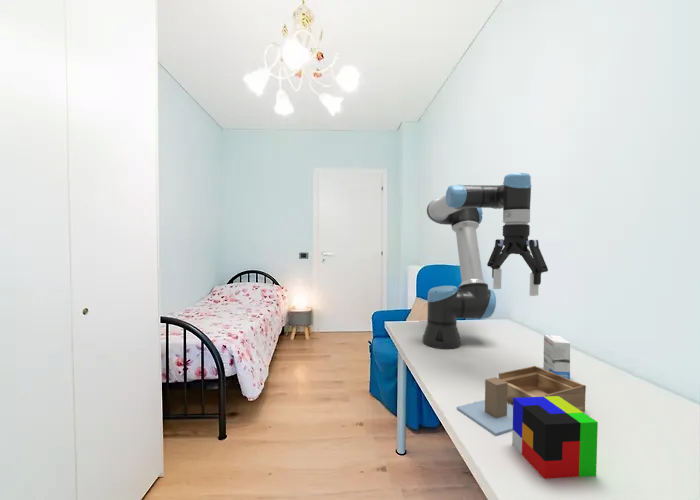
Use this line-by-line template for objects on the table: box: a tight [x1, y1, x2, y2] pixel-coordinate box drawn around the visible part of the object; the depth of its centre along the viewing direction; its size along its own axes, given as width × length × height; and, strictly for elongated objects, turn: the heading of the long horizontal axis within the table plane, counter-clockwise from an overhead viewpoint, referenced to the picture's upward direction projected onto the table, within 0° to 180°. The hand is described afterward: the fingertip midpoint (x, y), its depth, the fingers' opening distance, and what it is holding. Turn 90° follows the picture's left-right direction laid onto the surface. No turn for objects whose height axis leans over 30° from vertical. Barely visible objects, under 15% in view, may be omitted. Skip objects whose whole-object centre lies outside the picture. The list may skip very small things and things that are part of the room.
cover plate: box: [456, 376, 513, 437], centre depth 80 cm, size 12×13×9 cm
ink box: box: [542, 334, 571, 380], centre depth 105 cm, size 9×5×12 cm, turn 168°
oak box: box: [498, 365, 587, 413], centre depth 86 cm, size 14×14×6 cm
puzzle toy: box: [511, 396, 599, 480], centre depth 65 cm, size 10×10×10 cm
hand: (514, 292), depth 104 cm, fingers open, 13 cm apart
